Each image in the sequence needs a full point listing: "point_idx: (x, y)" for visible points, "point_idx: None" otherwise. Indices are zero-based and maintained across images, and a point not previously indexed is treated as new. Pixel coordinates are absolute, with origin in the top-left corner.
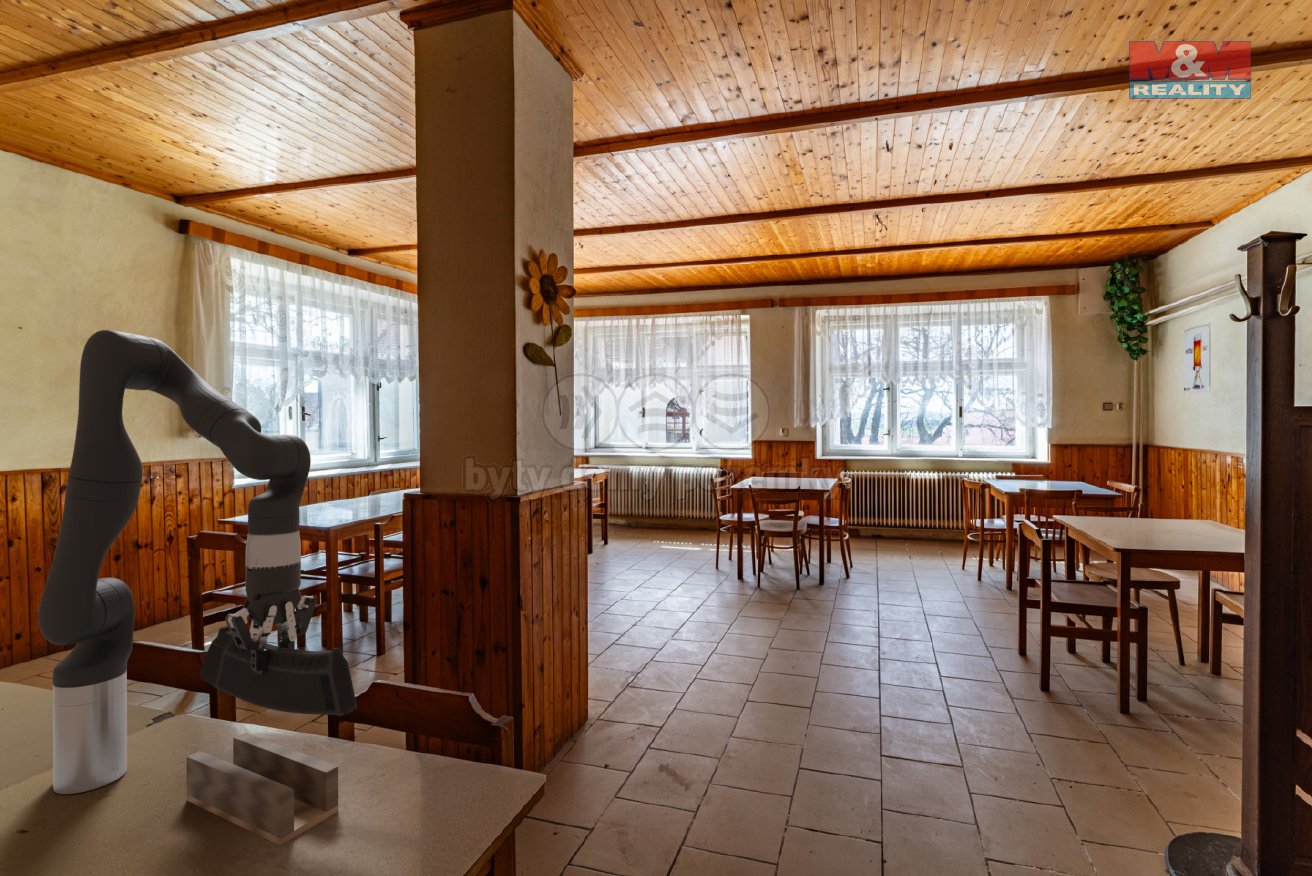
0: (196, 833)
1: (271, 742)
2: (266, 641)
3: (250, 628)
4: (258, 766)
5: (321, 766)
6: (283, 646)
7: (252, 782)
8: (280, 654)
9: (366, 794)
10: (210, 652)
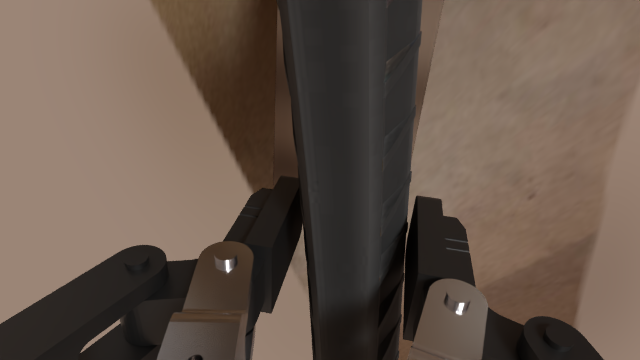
0: (252, 20)
1: (438, 11)
2: (251, 356)
3: (168, 331)
4: None
5: None
6: (410, 285)
7: (278, 147)
8: (315, 338)
9: (456, 210)
10: None
